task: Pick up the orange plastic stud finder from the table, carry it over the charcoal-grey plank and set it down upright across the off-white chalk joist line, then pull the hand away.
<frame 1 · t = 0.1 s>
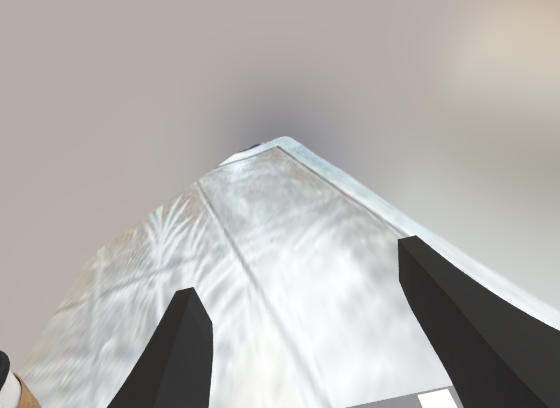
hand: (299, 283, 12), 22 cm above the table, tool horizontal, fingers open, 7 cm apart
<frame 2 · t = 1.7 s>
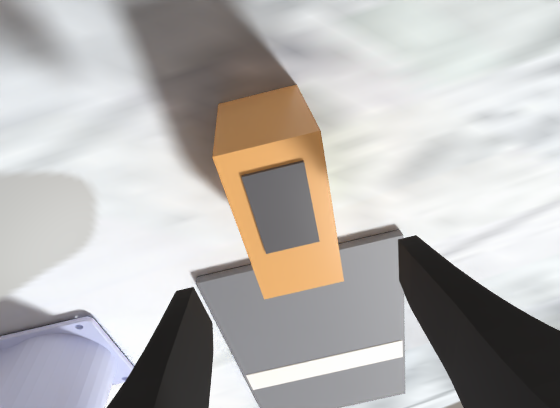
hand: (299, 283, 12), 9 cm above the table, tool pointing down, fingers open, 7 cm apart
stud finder: (274, 162, 20), on the table
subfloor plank: (319, 342, 30), on the table
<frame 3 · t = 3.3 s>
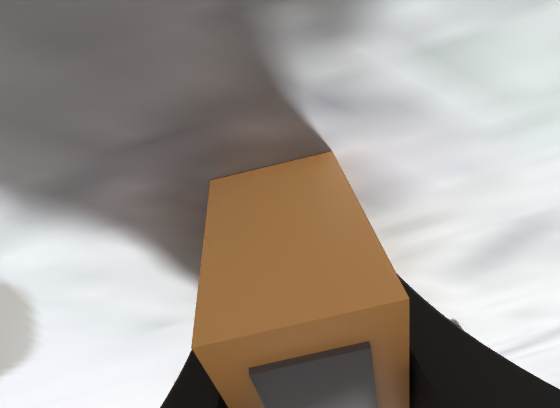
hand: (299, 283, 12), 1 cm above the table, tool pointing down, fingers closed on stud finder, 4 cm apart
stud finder: (294, 255, 14), on the table, touching gripper
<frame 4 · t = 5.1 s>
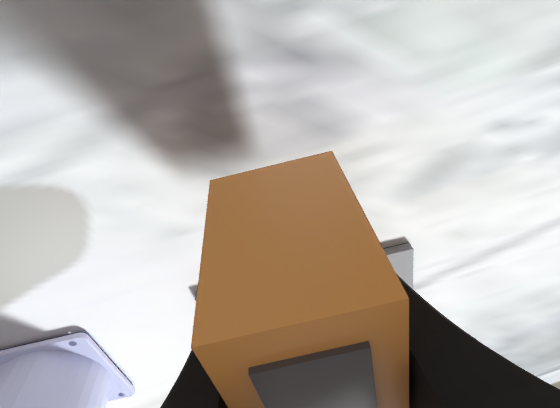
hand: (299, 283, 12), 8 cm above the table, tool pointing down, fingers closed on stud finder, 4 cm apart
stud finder: (293, 255, 14), point 6 cm above the table, touching gripper
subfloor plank: (324, 357, 29), on the table
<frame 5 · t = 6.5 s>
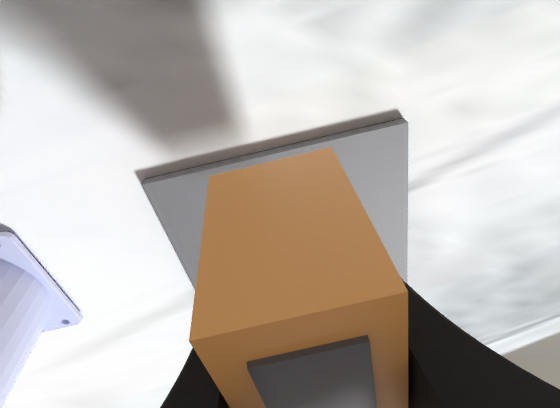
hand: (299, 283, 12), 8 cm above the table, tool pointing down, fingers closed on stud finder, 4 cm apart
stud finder: (293, 251, 13), point 7 cm above the table, touching gripper
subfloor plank: (304, 282, 24), on the table
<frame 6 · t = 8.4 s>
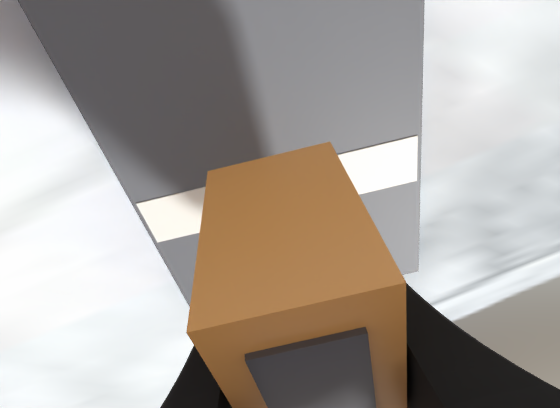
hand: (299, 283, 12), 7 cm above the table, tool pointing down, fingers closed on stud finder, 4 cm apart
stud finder: (292, 247, 13), point 5 cm above the table, touching gripper
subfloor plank: (267, 140, 16), on the table
when the fingers open (3 cm above the table, at t = 9.9 s): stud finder stays where it is, resting on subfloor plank.
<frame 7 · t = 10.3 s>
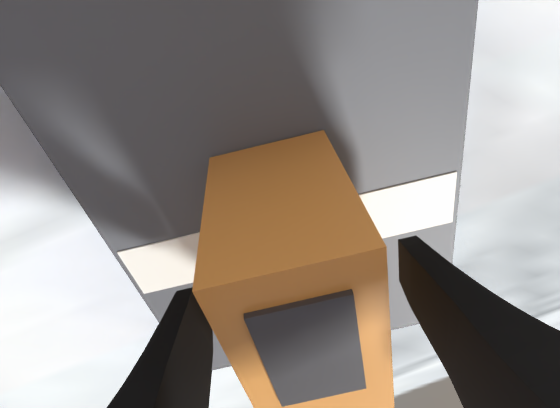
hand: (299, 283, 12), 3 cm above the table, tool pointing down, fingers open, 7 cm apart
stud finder: (288, 232, 14), point 1 cm above the table, touching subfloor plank
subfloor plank: (275, 177, 14), on the table
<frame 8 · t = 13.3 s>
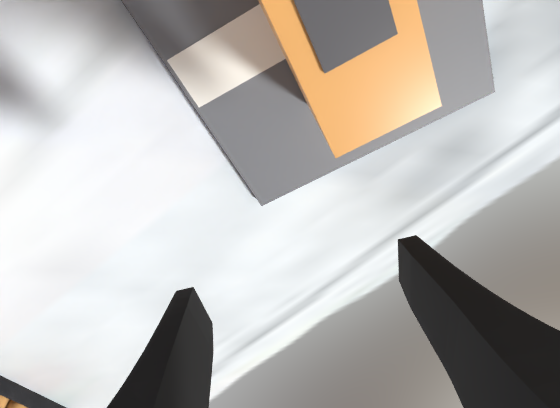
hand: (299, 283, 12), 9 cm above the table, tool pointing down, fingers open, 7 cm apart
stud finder: (311, 2, 15), point 1 cm above the table, touching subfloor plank
ammunition clip: (15, 387, 30), on the table
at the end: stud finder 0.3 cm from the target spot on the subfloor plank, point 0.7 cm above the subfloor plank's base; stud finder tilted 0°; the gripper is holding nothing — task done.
